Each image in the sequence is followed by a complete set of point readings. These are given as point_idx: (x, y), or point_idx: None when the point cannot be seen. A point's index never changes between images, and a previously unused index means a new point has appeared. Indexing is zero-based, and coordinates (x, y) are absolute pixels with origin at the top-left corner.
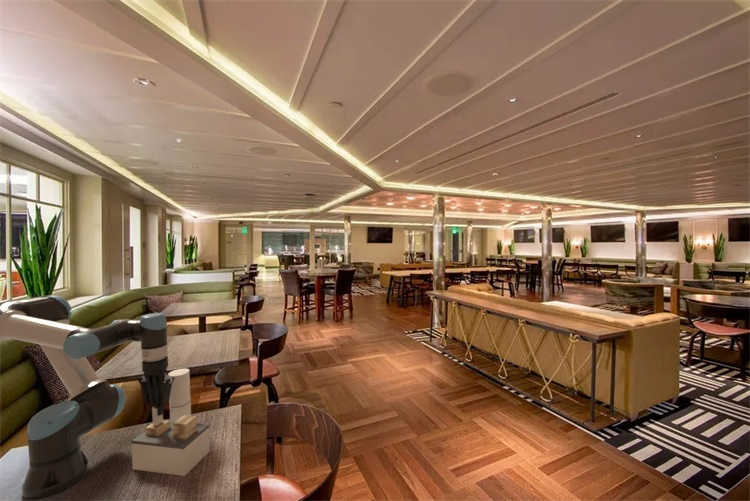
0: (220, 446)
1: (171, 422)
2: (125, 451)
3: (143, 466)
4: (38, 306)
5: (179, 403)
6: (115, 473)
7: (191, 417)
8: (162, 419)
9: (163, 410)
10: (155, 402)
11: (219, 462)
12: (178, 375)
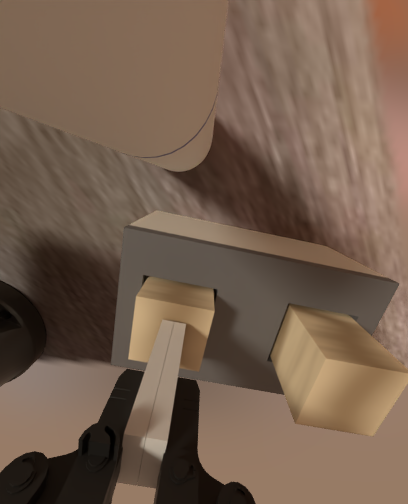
0: (354, 223)
1: (195, 253)
2: (56, 229)
3: None
4: None
5: (175, 144)
6: (111, 312)
7: (386, 384)
8: (183, 335)
9: (198, 407)
10: (107, 497)
11: None
12: None
